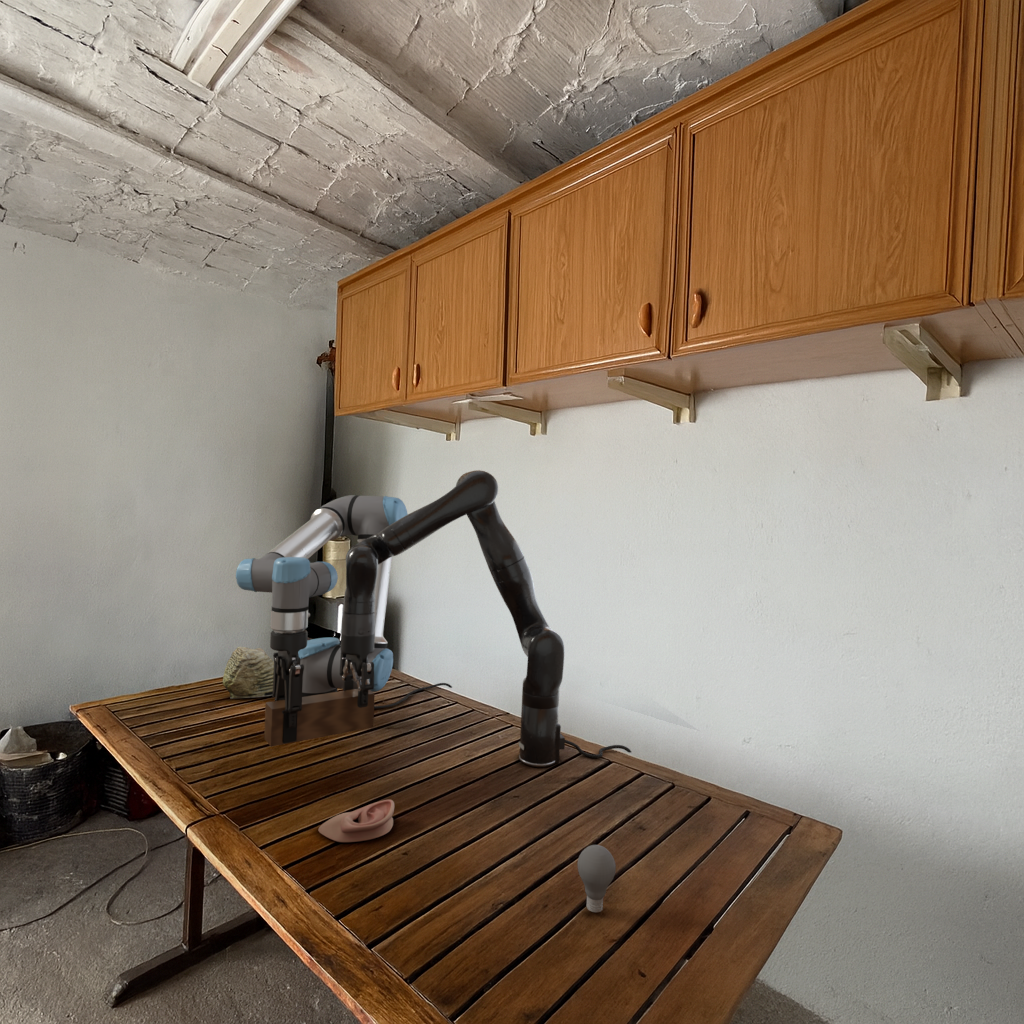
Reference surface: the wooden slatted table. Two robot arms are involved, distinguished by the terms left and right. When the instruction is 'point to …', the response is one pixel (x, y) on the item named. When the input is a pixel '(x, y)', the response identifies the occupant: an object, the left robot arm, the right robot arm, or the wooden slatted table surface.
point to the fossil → (249, 673)
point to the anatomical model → (360, 823)
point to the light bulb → (596, 874)
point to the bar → (320, 716)
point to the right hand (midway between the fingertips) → (355, 701)
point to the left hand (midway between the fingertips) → (285, 736)
